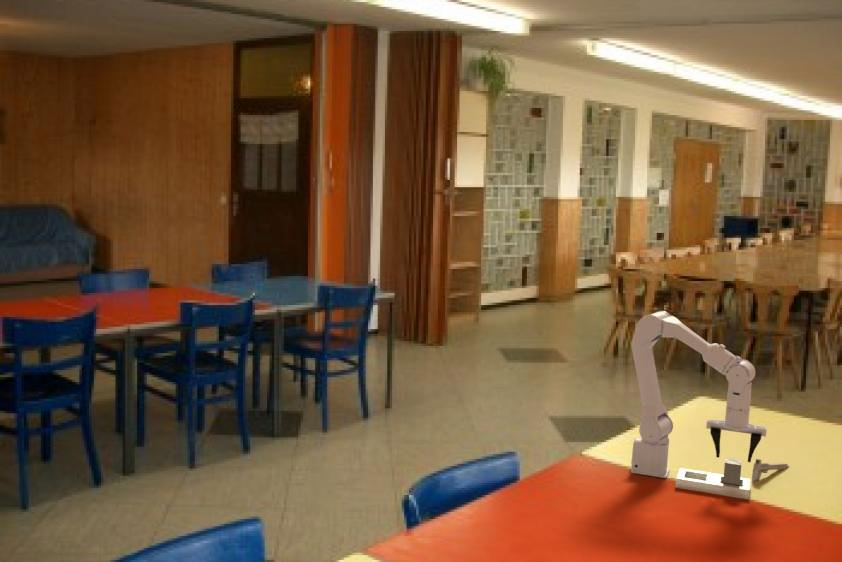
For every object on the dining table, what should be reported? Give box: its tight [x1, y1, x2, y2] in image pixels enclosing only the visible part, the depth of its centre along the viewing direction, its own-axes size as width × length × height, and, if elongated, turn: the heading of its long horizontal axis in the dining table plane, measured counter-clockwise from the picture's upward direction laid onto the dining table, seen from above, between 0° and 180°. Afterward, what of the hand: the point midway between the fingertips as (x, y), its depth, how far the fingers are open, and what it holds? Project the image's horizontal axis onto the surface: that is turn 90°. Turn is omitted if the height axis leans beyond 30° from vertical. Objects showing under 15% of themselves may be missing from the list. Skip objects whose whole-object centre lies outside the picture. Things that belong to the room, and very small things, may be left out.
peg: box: [723, 458, 743, 486], centre depth 229 cm, size 4×4×8 cm
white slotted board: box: [675, 467, 752, 500], centre depth 231 cm, size 18×9×2 cm, turn 68°
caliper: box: [751, 458, 790, 483], centre depth 244 cm, size 20×1×6 cm, turn 133°
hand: (733, 458), depth 229 cm, fingers open, 7 cm apart
